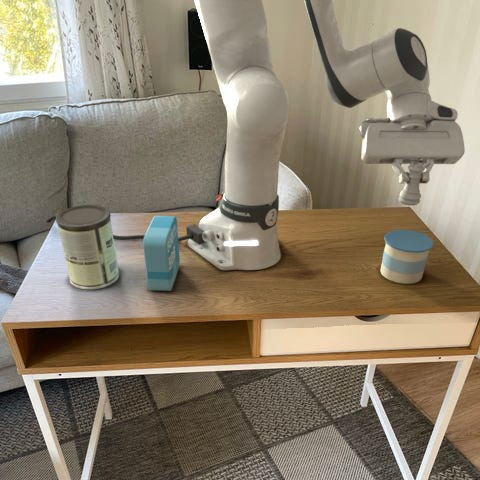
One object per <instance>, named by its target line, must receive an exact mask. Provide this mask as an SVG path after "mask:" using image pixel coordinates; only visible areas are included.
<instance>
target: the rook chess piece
mask: <svg viewBox="0 0 480 480" xmlns="http://www.w3.org/2000/svg"><path fill="white" fill-rule="evenodd" d="M407 169H408V172H409V176H408V177H409V181H408V182H407V183H405V185H404V187H403V188H402V190H401V191H400V192H399V196H398V198H397V200H398V202H399V203H400V204H403V205H404V206H417V205H418V204H420V203H421V198H422V194H421V190H420V184H421V183H420V178H421V177H422V176H421V173H422V172H425V170H426V168H424V164H423V163H422V162H421V163H420V164H419V162H418V161H417V163H416V164H415V161H413V162H411V164H408V166H407Z"/></svg>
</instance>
